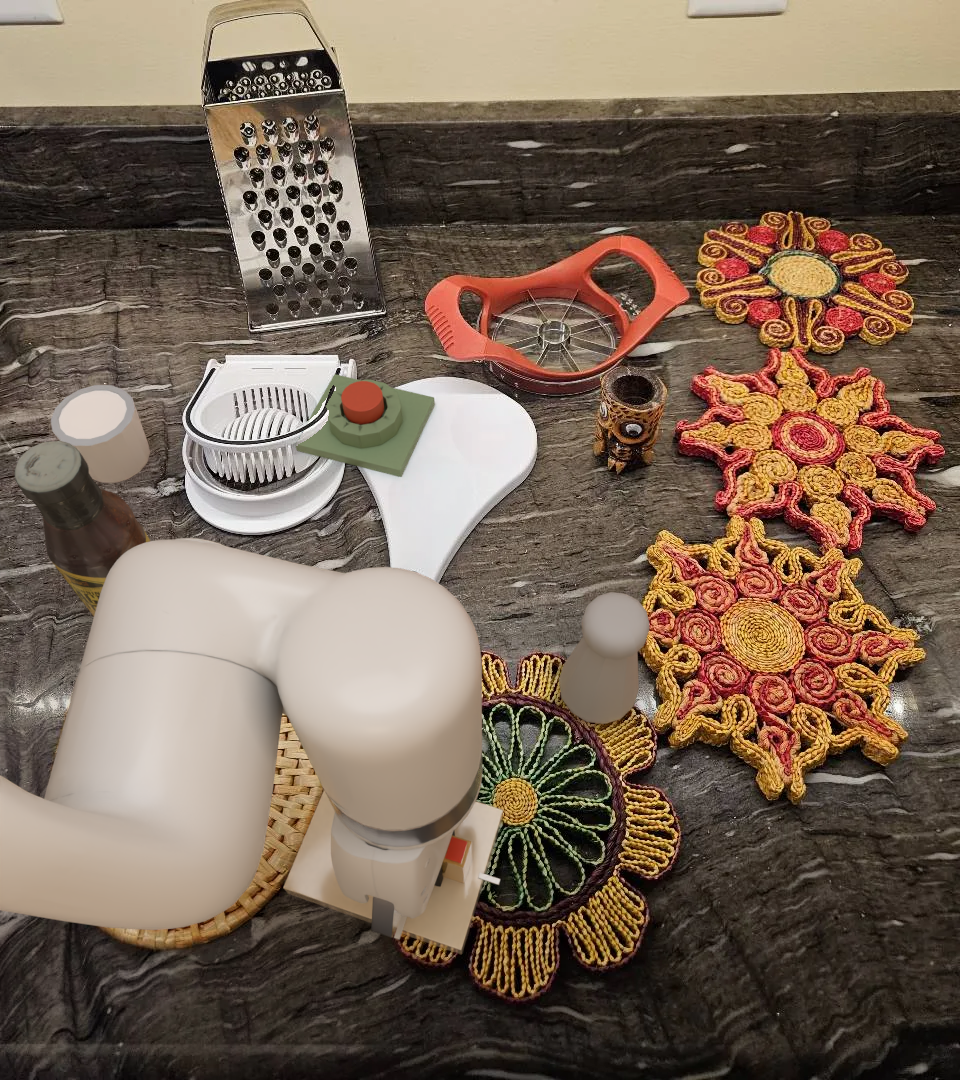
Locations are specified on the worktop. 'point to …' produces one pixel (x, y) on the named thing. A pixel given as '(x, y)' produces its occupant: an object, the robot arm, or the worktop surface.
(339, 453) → the button block
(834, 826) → the worktop surface
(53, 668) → the worktop surface
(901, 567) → the worktop surface
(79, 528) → the sauce bottle
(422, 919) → the block
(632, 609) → the salt shaker
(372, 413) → the button
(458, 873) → the tap handle
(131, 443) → the beige grey-rimmed cylinder
